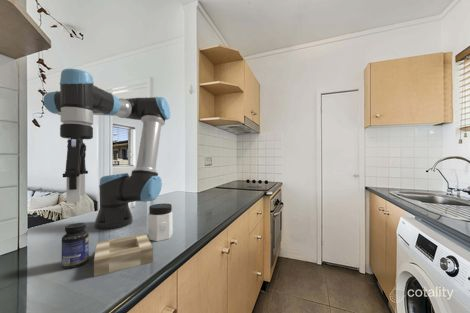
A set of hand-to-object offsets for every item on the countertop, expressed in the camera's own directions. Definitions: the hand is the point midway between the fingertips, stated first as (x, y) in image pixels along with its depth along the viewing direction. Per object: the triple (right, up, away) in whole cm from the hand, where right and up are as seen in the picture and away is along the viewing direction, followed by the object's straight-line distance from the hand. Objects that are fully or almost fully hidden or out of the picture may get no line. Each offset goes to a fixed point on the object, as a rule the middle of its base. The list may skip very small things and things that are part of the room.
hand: (76, 198), depth 58 cm
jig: (+12, -19, +4) cm, 22 cm away
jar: (+17, -19, +19) cm, 32 cm away
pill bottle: (0, -19, 0) cm, 19 cm away
